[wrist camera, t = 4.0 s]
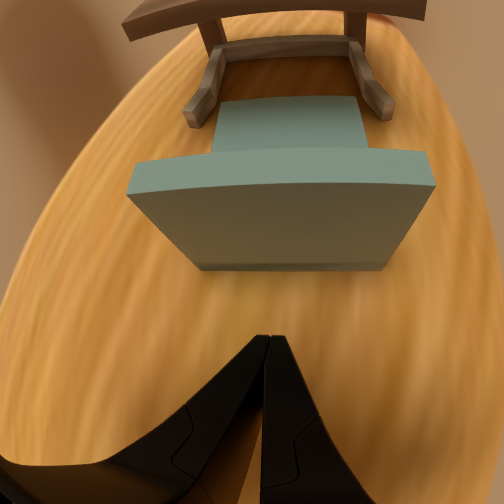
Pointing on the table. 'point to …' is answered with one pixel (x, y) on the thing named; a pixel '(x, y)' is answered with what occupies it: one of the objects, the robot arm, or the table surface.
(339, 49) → the walnut overhang shelf
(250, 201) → the teal plastic shell
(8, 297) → the table surface
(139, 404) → the table surface
